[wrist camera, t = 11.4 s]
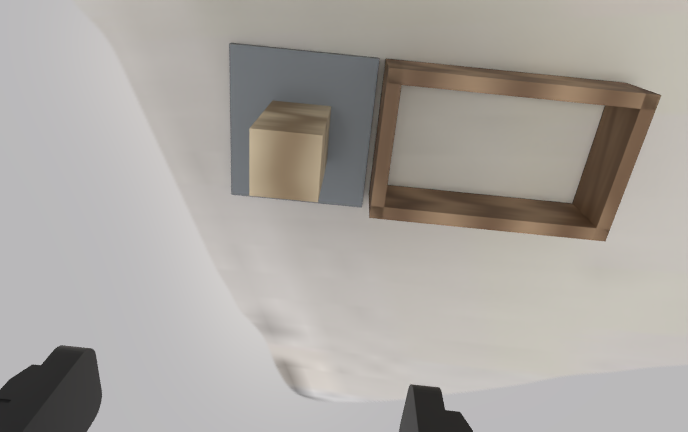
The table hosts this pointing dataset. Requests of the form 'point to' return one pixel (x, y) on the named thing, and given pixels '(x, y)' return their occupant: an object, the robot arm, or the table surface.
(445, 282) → the table surface
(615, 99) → the walnut surround
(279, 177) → the oak block
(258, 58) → the slate mat
